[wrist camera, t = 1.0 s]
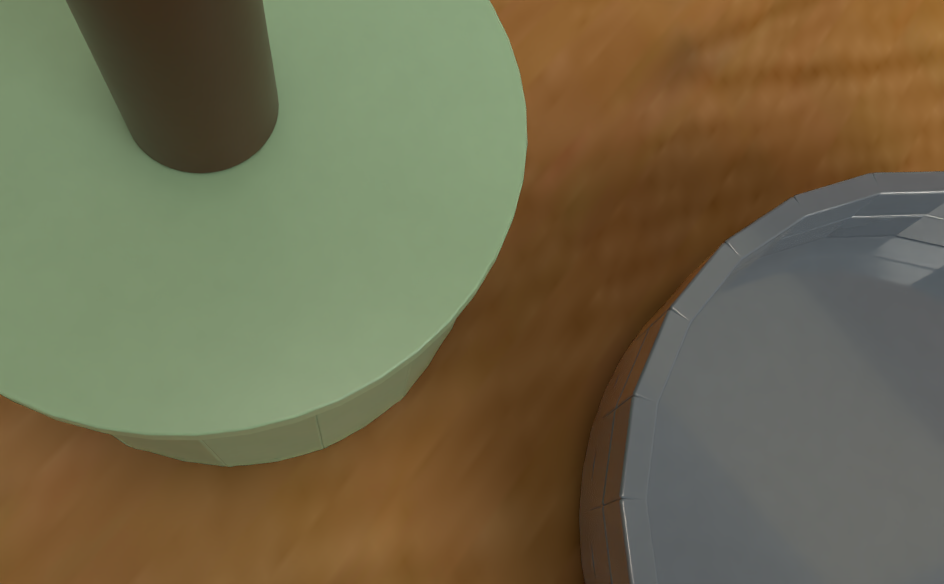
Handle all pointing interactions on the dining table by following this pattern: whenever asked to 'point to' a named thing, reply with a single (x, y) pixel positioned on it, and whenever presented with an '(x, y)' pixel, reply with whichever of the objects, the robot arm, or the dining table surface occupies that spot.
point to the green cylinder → (295, 426)
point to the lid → (243, 201)
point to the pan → (784, 405)
